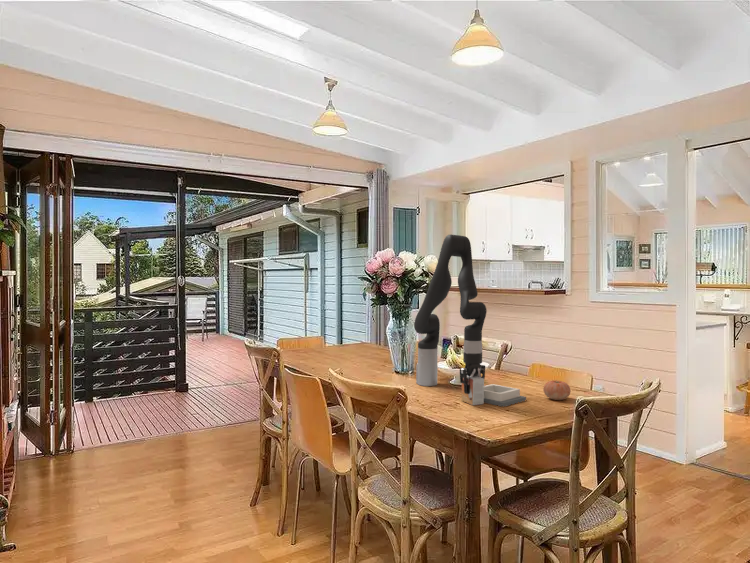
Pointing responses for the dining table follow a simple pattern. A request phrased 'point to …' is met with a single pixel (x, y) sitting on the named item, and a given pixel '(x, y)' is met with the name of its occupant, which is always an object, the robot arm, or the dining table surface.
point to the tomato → (556, 390)
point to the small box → (474, 391)
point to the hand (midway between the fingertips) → (472, 392)
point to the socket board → (502, 395)
